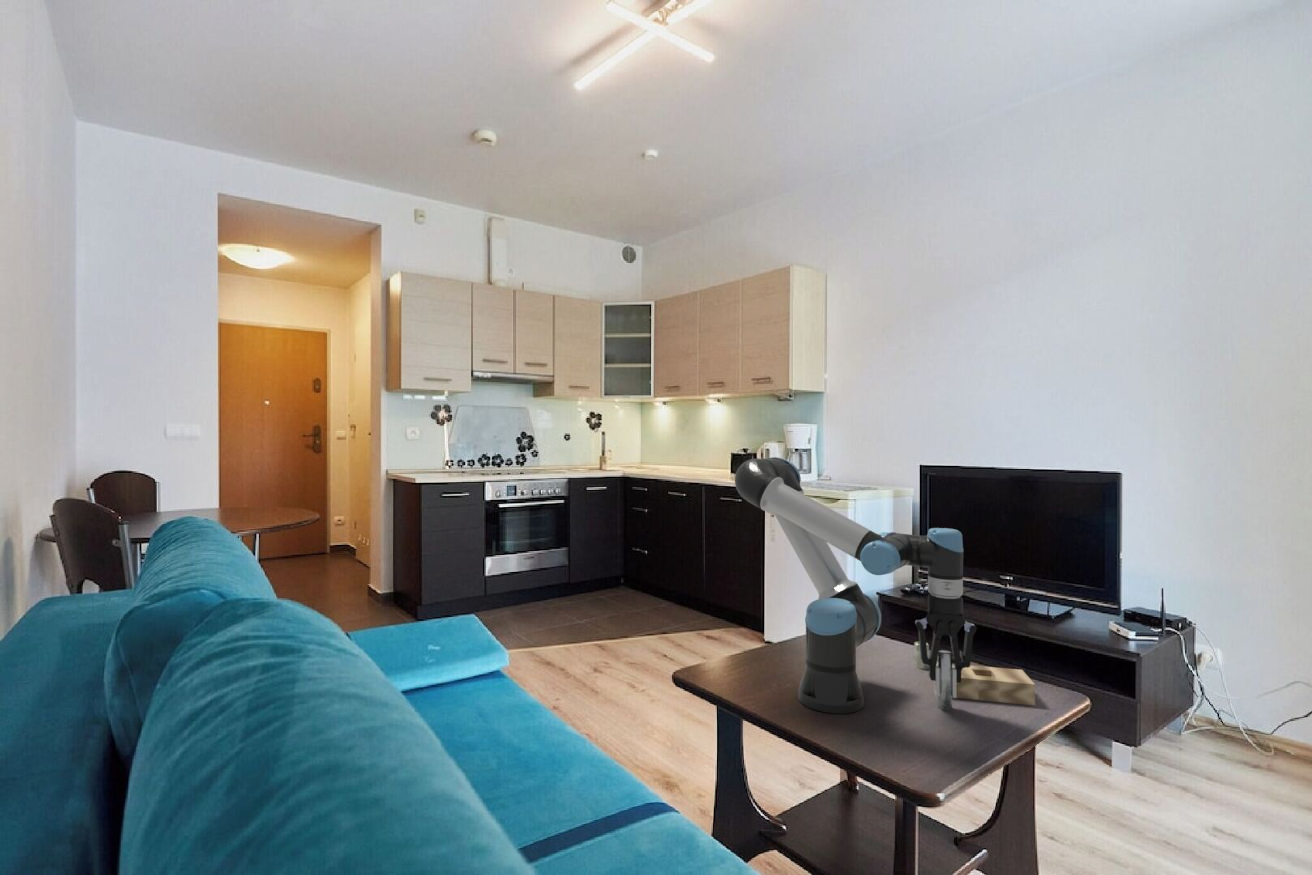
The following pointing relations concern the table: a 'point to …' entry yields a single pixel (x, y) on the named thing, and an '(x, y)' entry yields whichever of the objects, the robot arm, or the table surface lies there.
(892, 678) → the table surface
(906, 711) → the table surface
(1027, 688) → the hole block
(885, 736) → the table surface
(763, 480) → the robot arm
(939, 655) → the peg
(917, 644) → the valve
